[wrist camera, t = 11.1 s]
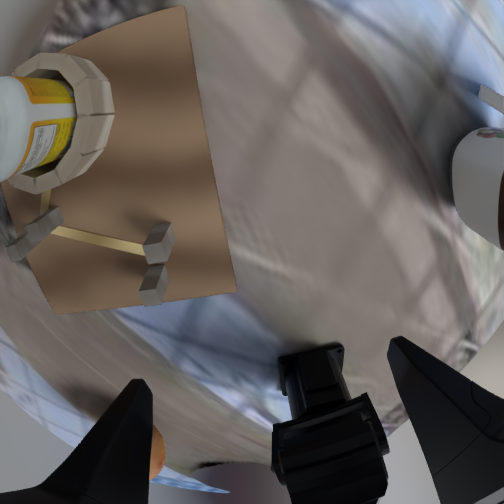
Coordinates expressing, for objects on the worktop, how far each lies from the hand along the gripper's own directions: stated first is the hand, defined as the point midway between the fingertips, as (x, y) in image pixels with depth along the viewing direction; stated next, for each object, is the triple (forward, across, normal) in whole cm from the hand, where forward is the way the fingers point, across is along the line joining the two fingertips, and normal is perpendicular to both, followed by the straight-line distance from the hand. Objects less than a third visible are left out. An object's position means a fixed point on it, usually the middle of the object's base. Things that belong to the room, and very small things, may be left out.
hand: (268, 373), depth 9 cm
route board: (+12, +10, -6) cm, 17 cm away
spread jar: (+12, -21, -5) cm, 25 cm away
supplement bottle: (+11, +11, -11) cm, 19 cm away
